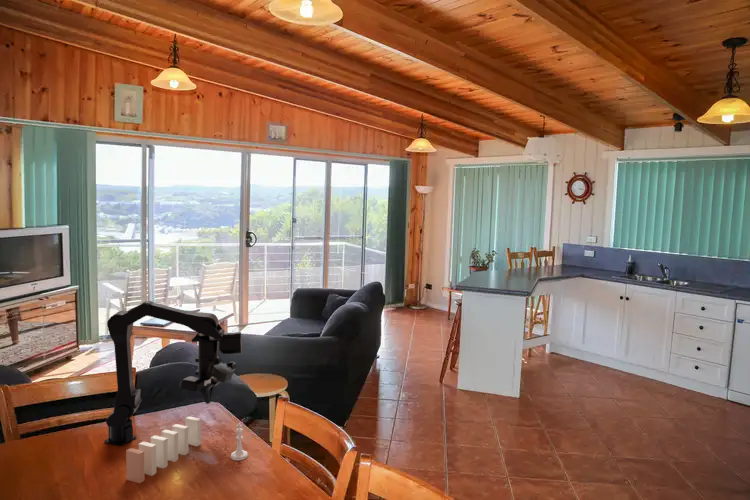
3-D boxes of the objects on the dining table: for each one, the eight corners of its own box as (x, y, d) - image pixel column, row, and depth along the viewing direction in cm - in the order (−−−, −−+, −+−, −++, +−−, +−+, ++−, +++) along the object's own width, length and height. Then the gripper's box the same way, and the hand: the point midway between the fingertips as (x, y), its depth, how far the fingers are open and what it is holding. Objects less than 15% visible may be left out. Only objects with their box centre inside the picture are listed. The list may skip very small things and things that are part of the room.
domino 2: (139, 472, 142) (138, 443, 141) (143, 469, 143) (143, 441, 143) (152, 475, 140) (151, 447, 139) (156, 472, 142) (156, 444, 141)
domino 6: (185, 443, 159) (185, 418, 159) (189, 441, 161) (189, 416, 160) (197, 446, 158) (197, 420, 157) (201, 444, 159) (201, 418, 158)
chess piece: (243, 461, 149) (243, 427, 148) (227, 459, 150) (227, 425, 149) (250, 453, 154) (251, 420, 153) (235, 451, 155) (235, 418, 154)
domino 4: (161, 458, 150) (161, 431, 149) (165, 456, 151) (165, 429, 150) (174, 461, 148) (174, 434, 147) (178, 459, 149) (178, 432, 149)
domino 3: (150, 465, 146) (150, 437, 145) (155, 462, 147) (154, 435, 146) (163, 468, 144) (163, 440, 143) (167, 465, 146) (167, 438, 145)
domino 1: (126, 479, 138) (126, 450, 137) (131, 476, 139) (131, 447, 139) (139, 483, 136) (139, 453, 136) (144, 480, 138) (144, 451, 137)
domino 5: (172, 452, 153) (172, 425, 153) (176, 450, 155) (176, 423, 154) (184, 455, 152) (184, 428, 151) (188, 452, 153) (188, 426, 153)
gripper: (209, 366, 151) (209, 418, 153) (247, 350, 169) (246, 397, 170) (178, 361, 155) (179, 412, 157) (218, 346, 173) (218, 392, 174)
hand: (207, 403), depth 164 cm, fingers closed
